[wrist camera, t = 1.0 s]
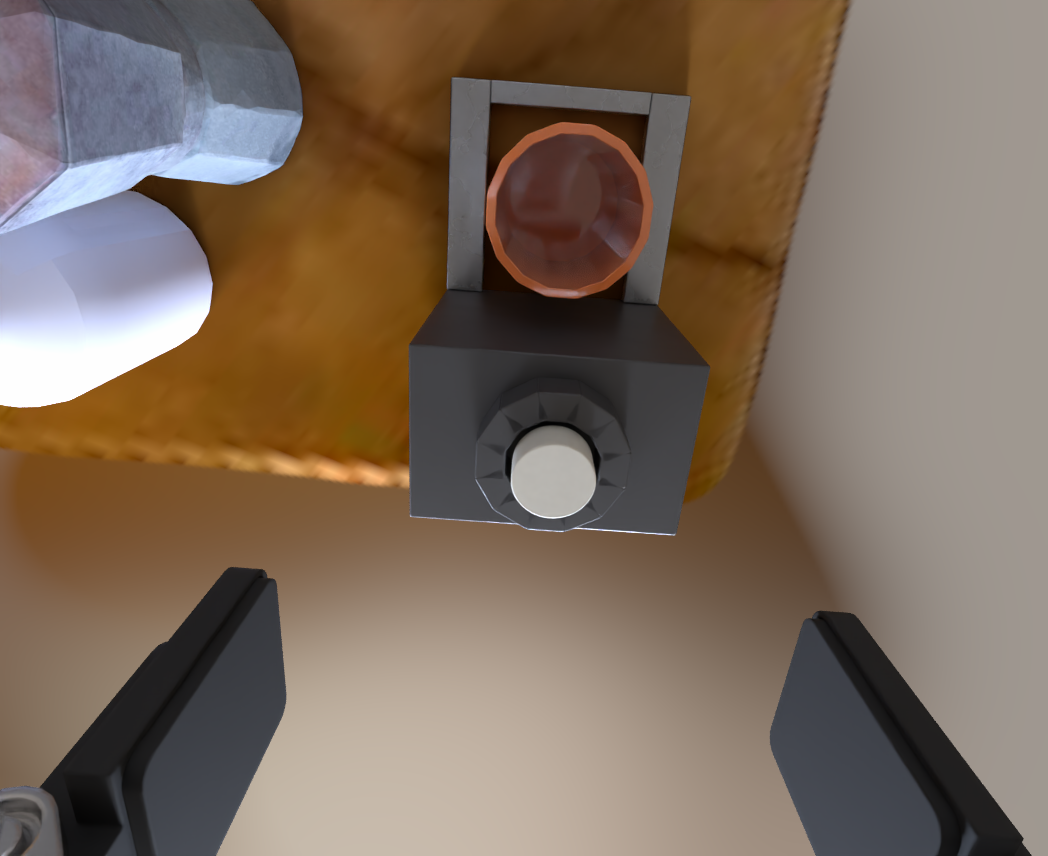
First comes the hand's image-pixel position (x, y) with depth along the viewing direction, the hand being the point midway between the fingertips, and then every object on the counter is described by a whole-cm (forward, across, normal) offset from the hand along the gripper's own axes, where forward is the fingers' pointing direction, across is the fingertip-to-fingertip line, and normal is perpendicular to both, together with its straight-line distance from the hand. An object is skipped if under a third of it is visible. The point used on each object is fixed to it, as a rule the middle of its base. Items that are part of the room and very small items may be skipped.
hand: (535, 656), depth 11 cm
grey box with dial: (+27, -1, +2) cm, 27 cm away
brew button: (+14, -1, +2) cm, 14 cm away
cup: (+27, -1, -7) cm, 28 cm away
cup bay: (+27, -1, -7) cm, 28 cm away
